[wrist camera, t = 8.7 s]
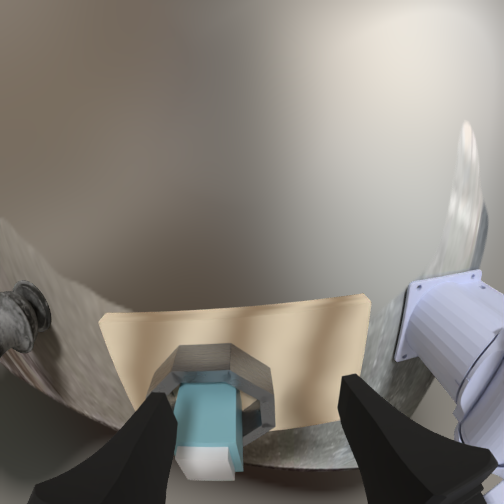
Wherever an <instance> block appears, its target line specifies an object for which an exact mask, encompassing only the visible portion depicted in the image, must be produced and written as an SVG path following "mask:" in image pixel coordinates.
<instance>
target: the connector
mask: <svg viewBox="0 0 504 504" xmlns="http://www.w3.org/2000/svg"><path fill="white" fill-rule="evenodd" d="M173 413H174V415H175V417H176V419H177V422H178V426H177V439H176V446H175V450H174V454H175V456H176V458H175V459H176V461H177V462H178V464H179V466H180V468H181V469H182V471H183V472H184V474H185V475H186V477H187V479H188V480H204V481H205V480H206V481H234V480H235V472H241V471H243V438H242V401H241V395H240V390H239V389H237V388H235V387H233V386H232V385H230V384H228V383H226V382H206V383H180V387H179V391H178V395H177V399H176V404H175V408H174V412H173Z"/></svg>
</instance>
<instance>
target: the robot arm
mask: <svg viewBox="0 0 504 504" xmlns="http://www.w3.org/2000/svg"><path fill="white" fill-rule="evenodd" d="M481 275H482V272H481V270H479V269H477V270H472V271H467V272H462V273H457V274H452V275H446V276H441V277H435V278H430V279H424V280H418V281H413V282H411V283H410V284H409V285H408V289H407V295H406V302H405V308H404V314H403V319H402V324H401V329H400V334H399V339H398V343H397V348H396V352H395V356H394V359H395V360H396V362H400V361H404V360H407V359H411V358H414V357H417V356H418V357H419V358H420V359H421V360H422V361H423V363H424V364H425V365H426V366H427V367H428V369H429V370H430V371H431V372H432V374H433V375H434V376H435V377H436V379H437V380H438V381H439V382H440V384H441V385H442V386H443V387H444V389H445V390H446V391H447V392H448V394H449V395H450V396H451V398H452V399H453V400H454V401H455V403H456V404H457V406H456V408H455V410H454V412H453V415H454V416H455V417H456V418H457V420H458V424H457V426H456V428H455V432H454V440H455V441H454V440H451V439H448V438H446V437H444V436H441V435H439V434H437V433H434V432H432V431H430V430H428V429H426V428H424V427H423V426H421V425H419V424H418V423H416V422H414V421H413V420H411V419H410V418H408V417H407V416H405V415H404V414H403V413H401V412H400V411H398V410H397V409H396V408H395V407H393V406H392V405H391V404H390V403H388V402H387V401H386V400H385V399H383V398H382V397H381V396H380V395H379V394H378V393H377V392H375V391H374V390H373V389H372V388H371V387H370V386H369V385H368V384H367V383H366V382H365V381H364V380H363V379H362V378H361V377H359V376H358V375H357V374H356V373H355V374H350V375H345V376H342V378H341V386H340V393H339V400H338V406H337V409H338V413H339V417H340V420H341V424H342V428H343V430H344V433H345V435H346V438H347V440H348V442H349V445H350V447H351V450H352V452H353V455H354V457H355V459H356V462H357V464H358V467H359V470H360V472H361V476H362V479H363V484H364V487H365V492H366V496H367V500H368V504H504V480H502V481H501V482H500V483H499V484H497V485H496V486H495V487H494V488H492V489H491V490H490V491H488V492H487V493H486V494H484V495H482V493H481V491H482V490H483V489H484V488H483V486H482V484H481V483H482V482H483V481H484V480H485V479H486V478H487V477H488V476H489V475H490V474H491V473H493V474H495V475H497V476H499V477H501V478H502V479H504V294H502V293H500V292H499V291H497V290H496V289H494V288H492V287H491V286H489V285H487V284H486V283H484V282H482V281H481ZM471 276H472V277H471ZM418 285H419V287H418ZM417 287H418V288H417ZM177 426H178V422H177V419H176V417H175V415H174V413H173V410H172V408H171V406H170V403H169V401H168V399H167V396H166V394H165V392H151V393H150V394H149V396H148V397H147V398H146V399H145V401H144V402H143V403H142V404H141V405H140V407H139V408H138V409H137V410H136V412H135V413H134V414H133V415H132V416H131V418H130V419H129V420H128V421H127V422H126V423H125V424H124V426H123V427H122V428H121V429H120V430H119V431H118V432H117V433H116V434H115V435H114V436H113V437H112V438H111V439H110V440H109V442H107V443H106V444H105V445H104V446H103V447H102V448H101V449H99V450H98V451H97V452H96V453H95V454H93V455H92V456H91V457H89V458H88V459H87V460H85V461H83V462H82V463H80V464H79V465H77V466H76V467H74V468H72V469H71V470H69V471H67V472H65V473H63V474H61V475H59V476H57V477H55V478H52V479H50V480H47V481H44V482H42V483H39V484H36V485H35V487H34V489H33V492H32V494H31V496H30V499H29V501H28V503H27V504H165V500H166V489H167V482H168V478H169V472H170V468H171V464H172V459H173V455H174V450H175V446H176V439H177Z"/></svg>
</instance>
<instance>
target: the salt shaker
mask: <svg viewBox="0 0 504 504" xmlns="http://www.w3.org/2000/svg"><path fill="white" fill-rule="evenodd" d="M50 323H51V313H50V309H49V306H48V304H47V301H46V299H45V298H44V296H43V294H42V293H41V292H40V291H39V289H38V288H37V287H36V286H34V285H33V284H32V283H30V282H28V281H24V280H22V281H19V282H17V283H16V284H15V286H14V288H13V291H6V292H0V357H1V356H2V355H3V354H4V353H5V352H6V351H7V350H8V349H10V348H13V349H14V350H16V351H18V352H20V353H28V352H30V351H31V350H32V348H33V345H34V341H35V340H36V336H37V333H38V332H44V331H45V330H47V329H48V328H49V326H50Z"/></svg>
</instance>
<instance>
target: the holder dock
mask: <svg viewBox="0 0 504 504" xmlns="http://www.w3.org/2000/svg"><path fill="white" fill-rule="evenodd" d="M370 308H371V301H370V300H369V299H368V298H367V297H366V296H365V295H364V294H356V295H349V296H341V297H334V298H326V299H317V300H310V301H300V302H291V303H281V304H271V305H260V306H250V307H236V308H224V309H223V308H222V309H207V310H191V311H168V312H137V313H106V314H105V315H104V316H103V317H102V319H101V320H100V321H99V325H100V328H101V331H102V334H103V337H104V339H105V342H106V345H107V348H108V350H109V353H110V355H111V358H112V360H113V363H114V365H115V368H116V370H117V372H118V375H119V377H120V379H121V381H122V384H123V386H124V388H125V390H126V392H127V395H128V397H129V399H130V401H131V403H132V405H133V407H134V409H135V411H136V410H137V409H138V408H139V407H140V405H141V404H142V403H143V402H144V401H145V399H146V398H147V397H148V396H149V394H150V393H151V392H165V394H166V396H167V399H168V401H169V403H170V406H171V408H172V410H173V412H174V408H175V404H176V399H177V395H178V391H179V387H180V383H206V382H226V383H228V384H230V385H232V386H233V387H235V388H237V389H239V390H240V395H241V401H242V438H243V447H244V446H246V445H247V444H249V443H251V442H252V441H254V440H256V439H257V438H259V437H260V436H262V435H264V434H265V433H267V432H268V431H274V430H283V429H291V428H298V427H305V426H311V425H317V424H323V423H328V422H333V421H338V420H340V417H339V413H338V409H337V406H338V400H339V393H340V386H341V378H342V376H345V375H350V374H355V373H356V374H357V375H358V376H359V377H360V373H361V367H362V362H363V357H364V351H365V345H366V339H367V332H368V325H369V317H370Z"/></svg>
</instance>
